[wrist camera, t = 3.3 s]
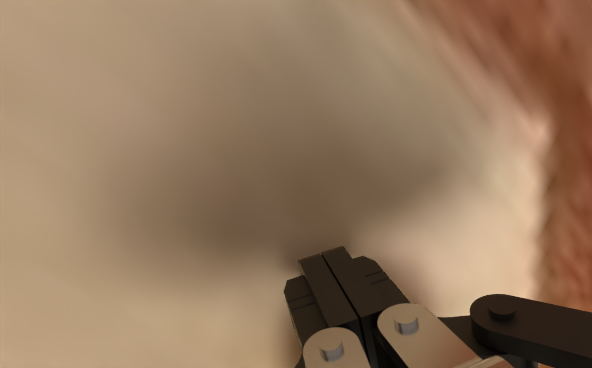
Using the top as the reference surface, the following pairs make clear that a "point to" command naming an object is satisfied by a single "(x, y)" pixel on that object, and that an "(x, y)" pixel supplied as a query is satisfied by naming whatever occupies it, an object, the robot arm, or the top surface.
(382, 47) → the top surface
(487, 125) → the top surface
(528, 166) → the top surface
